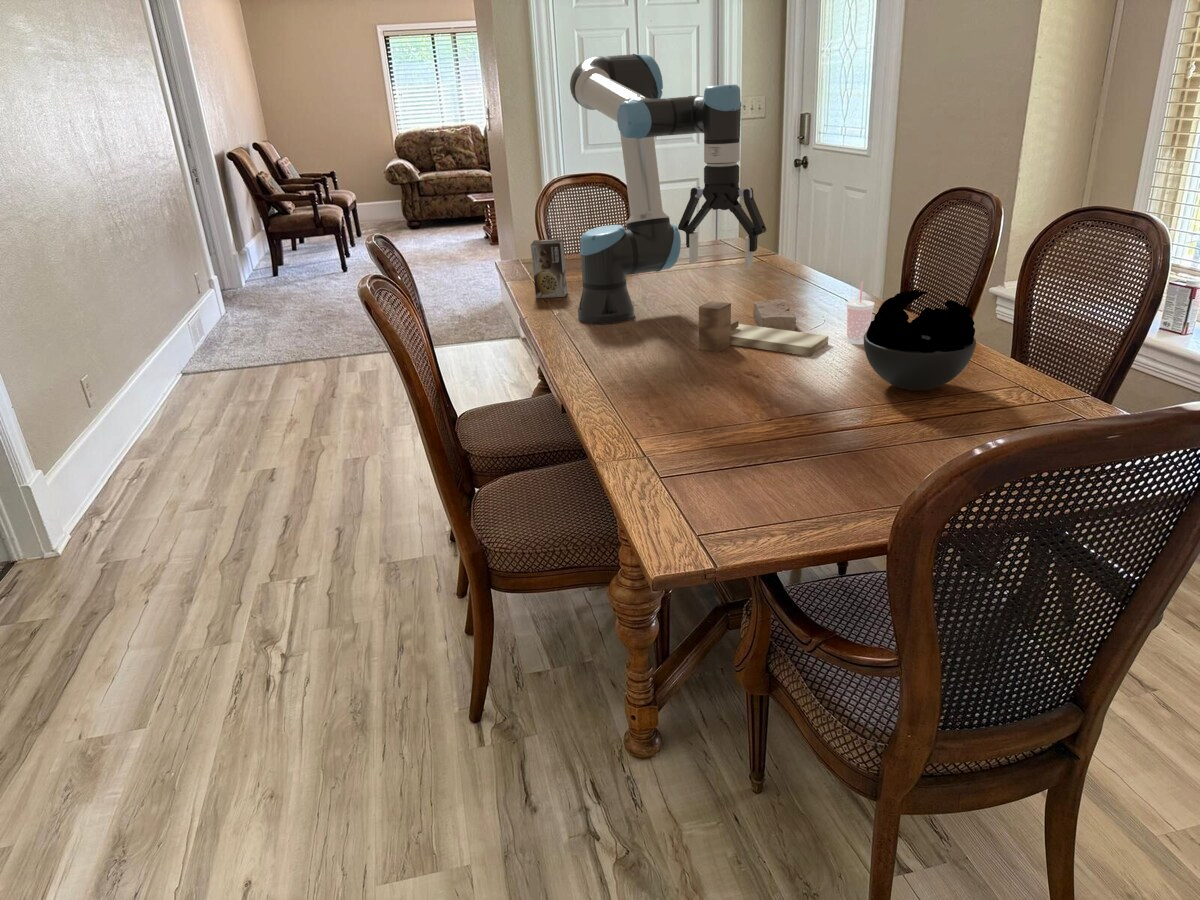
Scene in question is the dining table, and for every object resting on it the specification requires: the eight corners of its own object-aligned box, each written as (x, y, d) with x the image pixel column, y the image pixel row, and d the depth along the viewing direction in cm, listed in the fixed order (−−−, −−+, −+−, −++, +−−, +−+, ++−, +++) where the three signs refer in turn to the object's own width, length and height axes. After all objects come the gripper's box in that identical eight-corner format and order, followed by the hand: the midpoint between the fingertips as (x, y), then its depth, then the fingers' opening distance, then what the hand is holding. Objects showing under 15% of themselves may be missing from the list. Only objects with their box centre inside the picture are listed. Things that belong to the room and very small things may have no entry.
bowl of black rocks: (848, 372, 166) (855, 282, 158) (946, 368, 165) (958, 277, 157) (875, 408, 148) (885, 308, 140) (986, 404, 147) (1002, 303, 139)
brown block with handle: (698, 349, 186) (698, 306, 182) (725, 334, 195) (726, 294, 191) (717, 352, 183) (718, 309, 179) (744, 337, 192) (745, 296, 188)
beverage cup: (851, 336, 189) (856, 276, 183) (876, 340, 185) (881, 280, 179) (838, 342, 185) (842, 282, 179) (862, 347, 181) (867, 285, 175)
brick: (796, 334, 194) (797, 315, 192) (761, 335, 194) (762, 316, 192) (784, 316, 209) (785, 298, 207) (752, 317, 209) (752, 300, 207)
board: (707, 340, 191) (707, 332, 190) (727, 330, 198) (727, 322, 198) (810, 356, 177) (810, 347, 176) (827, 344, 184) (828, 335, 183)
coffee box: (567, 292, 244) (564, 238, 238) (564, 297, 239) (561, 242, 232) (538, 293, 245) (533, 239, 239) (534, 298, 240) (530, 243, 233)
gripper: (662, 165, 174) (663, 263, 183) (769, 166, 161) (766, 271, 170) (678, 162, 180) (679, 257, 189) (784, 162, 167) (779, 264, 176)
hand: (720, 264), depth 179 cm, fingers open, 13 cm apart
